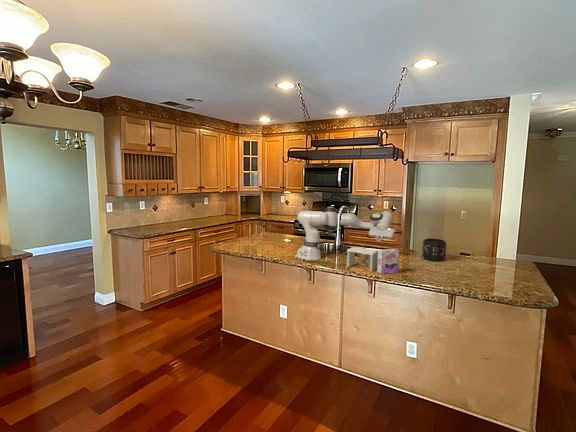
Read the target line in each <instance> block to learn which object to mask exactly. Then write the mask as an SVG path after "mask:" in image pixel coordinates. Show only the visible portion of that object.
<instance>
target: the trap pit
mask: <svg viewBox="0 0 576 432" xmlns="http://www.w3.org/2000/svg"><path fill="white" fill-rule="evenodd" d="M350 270H353V271H358V272H359V271H360V272H365V269H361V268H360V269H359V268H355V267H351V268H350Z"/></svg>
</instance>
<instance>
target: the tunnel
mask: <svg viewBox="0 0 576 432" xmlns="http://www.w3.org/2000/svg"><path fill="white" fill-rule="evenodd" d="M346 252H347V257H346V259H347V260H346V267H347V268H350V267H353V266H354V265H355V263H356V253H357V254H362V253H363V254H369V255H370V266H369V272H373V271H375V270H377V266H378V250H376V249H375V250H374V249H370V248H369V249H368V248H362V247H354V246H352V247H350V248H347V249H346Z"/></svg>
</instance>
